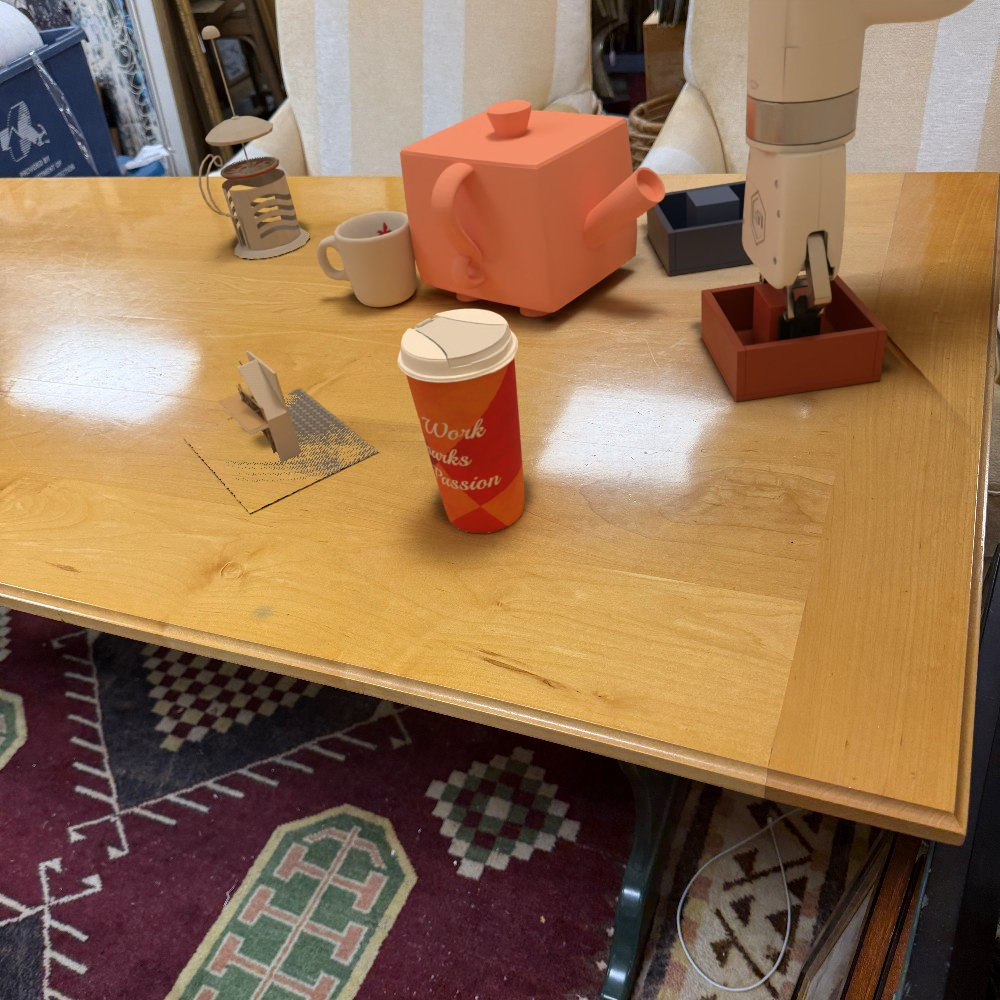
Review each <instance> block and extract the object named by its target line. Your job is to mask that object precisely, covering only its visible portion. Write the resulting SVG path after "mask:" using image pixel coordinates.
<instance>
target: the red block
mask: <svg viewBox="0 0 1000 1000" xmlns="http://www.w3.org/2000/svg"><path fill="white" fill-rule="evenodd" d="M807 290H808V287H803V288H796V289H794V296H795V301H796V299H797V298H798V297H799V296H800V295H805V293H806V292H807ZM825 309H826V306H824V312H823V316H822V317H821V327H820V335H822V334H823V332H824V320H825ZM782 316H784V315H783V288H782V289H776V288H774V287H773V286H772V285H770V284H769V283H764V284H757V285H754V308H753V336H752V339H753V341H754V343H755V344H761V343H768V342H775V341H777V337H778V318H779V317H782Z"/></svg>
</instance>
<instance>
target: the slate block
mask: <svg viewBox="0 0 1000 1000" xmlns="http://www.w3.org/2000/svg"><path fill="white" fill-rule="evenodd" d="M739 202H740V200H739V198H738V197H737V196H736V195H735V194H734V192H733V191H732V190H731V189H730V187H729V186H723V187H717V188H710V189H704V190H697V191H691V192H687V193H686V209H687V228H690V227H696V226H703V225H710V224H716V223H723V222H729V221H736V220H739Z"/></svg>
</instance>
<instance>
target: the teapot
mask: <svg viewBox="0 0 1000 1000" xmlns="http://www.w3.org/2000/svg"><path fill="white" fill-rule="evenodd" d="M628 128H629V126H628V121H627V120H626V118H625V117H619V116H611V115H600V114H592V113H591V114H590V113H589V114H588V113H580V112H579V113H578V112H568V111H553V110H537V109H536V110H535V109H532V103H531V102H530V101H528V100H523V99H511V100H509V99H508V100H504V101H500V102H497V103H494V104H492V105H490V106H489V107H487V108H486V109H485V111H482V112H480V113H478V114H475V115H474V116H471V117H468V118H466V119H464V120H461V121H460V122H457V123H456V124H455V123H454V124H453V125H450V126H448V127H446V128H444V129H442V130H439V131H437V132H435V133H433V134H431V135H429V136H427V137H424V138H422V139H419V140H418V141H416V142H414V143H412V144H410V145H407V146H405V147H403V148H401V150H400V152H399V158H400V167H401V175H402V176H401V177H402V183H403V192H404V200H405V208H406V214H407V215H408V222H409V228H410V234H411V240H412V246H413V251H414V257H415V264H416V268H417V270H418V274H419V277H420V280H421V283H422V284H424V285H428V286H430V287H434V288H437V289H441V290H444V291H447V292H452V293H456V295H455V296H456V299H457V300H459V301H461V302H476V301H479V300H485V301H489V302H494V303H499V304H504V305H509V306H513V307H517V308H519V313H520V315H522V316H525V317H529V318H537V317H543V316H547V315H549V314H552V313H555V312H557V311H559V310H560V309H561V308H563V307H565V306H566V305H567V304H570V303H571V302H572V301H574V300H575V299H576V298H578V297H580V296H581V295H582V294H584V293H585V292H587V291H588V290H589V289H591V288H592V287H594V286H595V285H597V284H599V282H601V281H603V280H604V279H605V278H607V277H608V276H609V275H611V274H613V273H614V272H615V271H616V270H618V269H619V268H620V267H622V266H624V265H626V263H628V262H629V261H631V260H632V259H634V257H636V255H637V244H638V243H637V242H638V219H639V218H640V217H642V216H643V215H644V214H646V213H647V211H648V210H649V209H651V208H652V207H653V206H655V205H656V204H658V203H659V202H660V201H661V200H663V198H664V196H665V193H666V188H665V184H664V182H663V180H662V179H661V177H660V176H659V175H658V174H657V172H655V171H654V170H653V169H652V168H649V167H646V166H642V167H639V168H638V169H636V170H635V171H634V169H633V160H632V151H631V142H630V135H629V129H628Z"/></svg>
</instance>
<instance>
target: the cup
mask: <svg viewBox="0 0 1000 1000" xmlns="http://www.w3.org/2000/svg"><path fill="white" fill-rule="evenodd" d="M316 247H317V248H316V258H317V261H318V264H319V266H320V268H321V270H322V272H323V273H324V274H325V276H326V277H328V278H330V279H331V280H333V281H341V282H342V281H344V282H349V283H350V285H351V288H352V290H353V293H354V295H355V297H356V298H357V300H358V301H359V302H360V303H361V304H363V305H365V306H367V307H371V308H386V307H391V306H395V305H398V304H402V303H403V302H405V301H407V300H409V299H410V298H411V297H412V296H413V295H414V294H415V292H416V289H417V284H418V278H417V264H416V261H415V257H414V251H413V246H412V240H411V234H410V228H409V222H408V215H407V213H405V212H402V211H397V210H379V211H373V212H367V213H363V214H359V215H356V216H353V217H351V218H348V219H347V220H344V221H342V222H341V223H339V225H337V226H336V228H334V231H333V234H332V235H329V236H326V237H324V238H323V239H322V240H321V241H320V242H319V243H318V245H317V246H316ZM328 248H332V249H334V250H335V251H336V252H337V253H338V254H339V256H340V258H341V262H342V267H343V269H342V270H338V269H336V268H334V267H333V265H332V264H331V262H330V261H329V258H328V254H327V249H328Z"/></svg>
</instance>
